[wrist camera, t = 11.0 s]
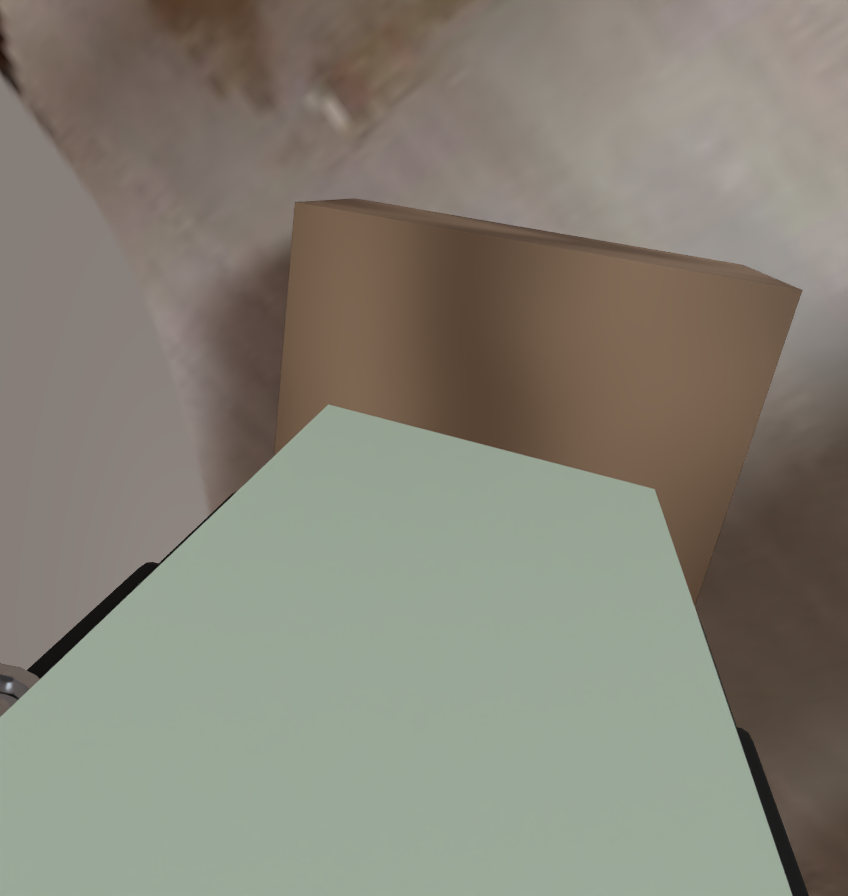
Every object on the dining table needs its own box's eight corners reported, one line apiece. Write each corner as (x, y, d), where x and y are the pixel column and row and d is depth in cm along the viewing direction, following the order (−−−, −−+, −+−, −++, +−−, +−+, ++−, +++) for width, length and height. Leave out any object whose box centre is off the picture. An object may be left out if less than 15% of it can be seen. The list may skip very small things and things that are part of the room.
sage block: (654, 489, 11) (894, 1198, 3) (560, 748, 12) (570, 1591, 5) (328, 404, 11) (-144, 854, 4) (283, 668, 13) (-92, 1331, 5)
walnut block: (740, 263, 18) (802, 290, 14) (638, 598, 22) (659, 710, 17) (358, 198, 19) (294, 202, 15) (321, 528, 23) (260, 614, 18)
